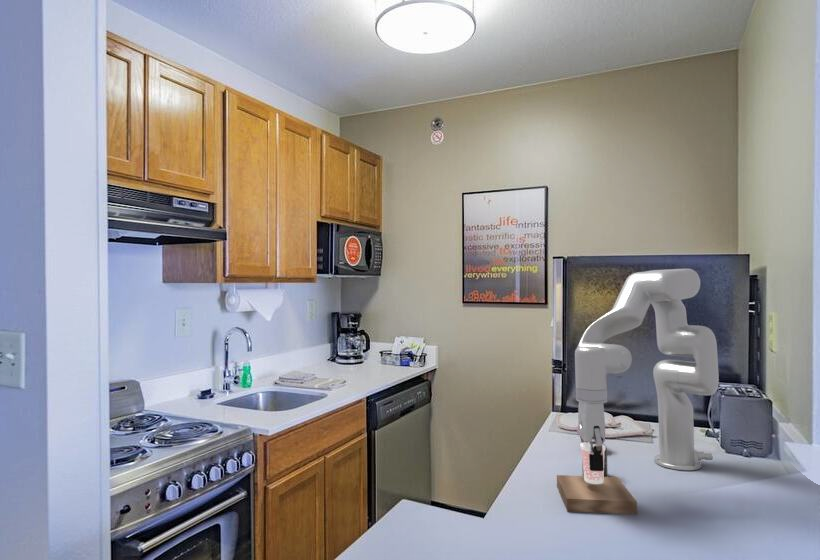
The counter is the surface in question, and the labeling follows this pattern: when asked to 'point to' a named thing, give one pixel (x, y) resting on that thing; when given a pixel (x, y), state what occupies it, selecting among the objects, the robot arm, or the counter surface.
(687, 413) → the robot arm
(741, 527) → the counter surface
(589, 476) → the beverage cup
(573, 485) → the walnut base
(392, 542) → the counter surface
